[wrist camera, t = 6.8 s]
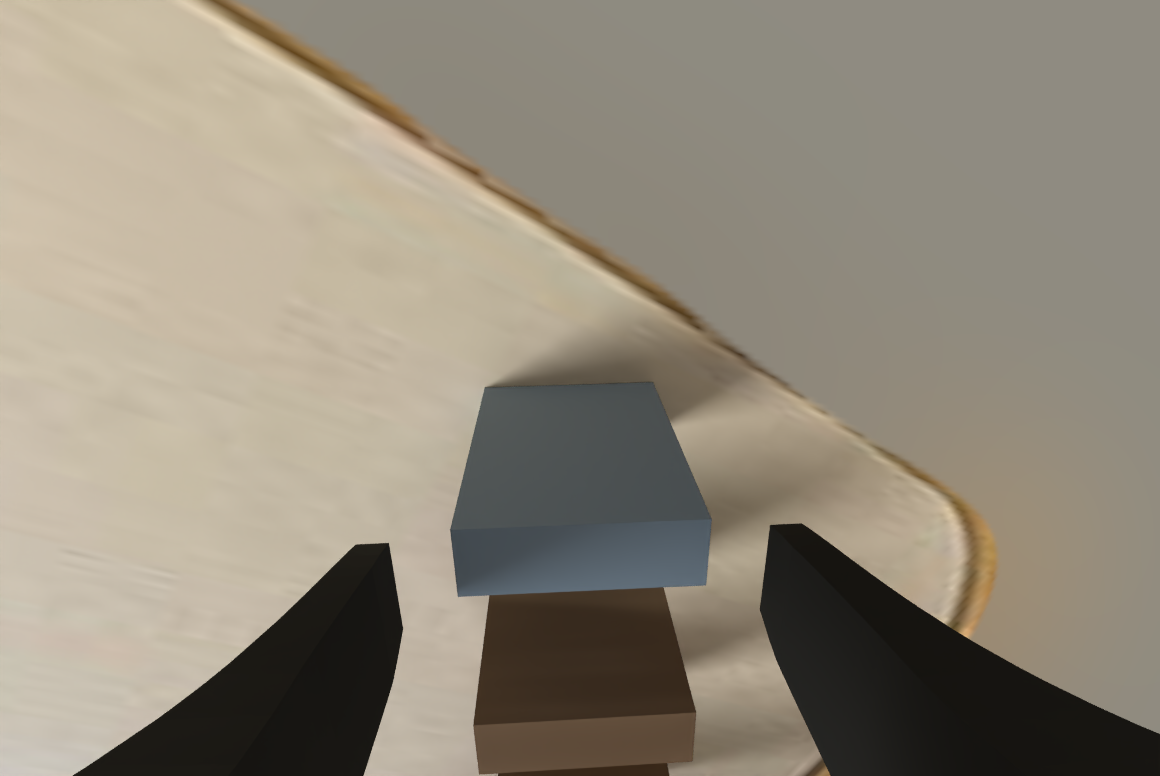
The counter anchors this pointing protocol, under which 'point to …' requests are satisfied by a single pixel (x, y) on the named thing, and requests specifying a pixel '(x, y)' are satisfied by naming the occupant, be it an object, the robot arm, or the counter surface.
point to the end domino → (577, 494)
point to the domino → (581, 683)
